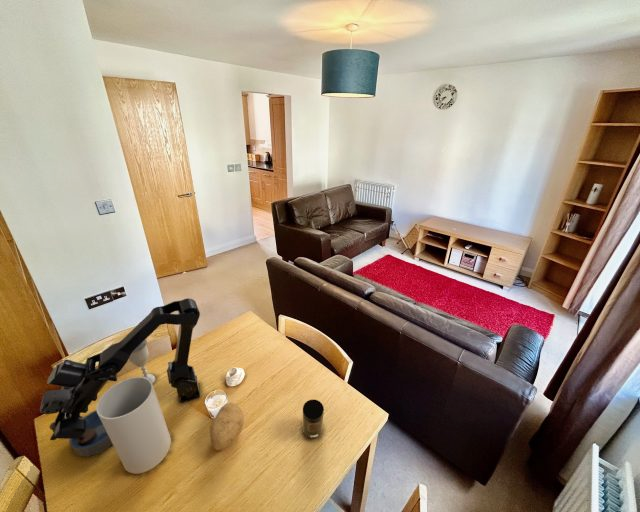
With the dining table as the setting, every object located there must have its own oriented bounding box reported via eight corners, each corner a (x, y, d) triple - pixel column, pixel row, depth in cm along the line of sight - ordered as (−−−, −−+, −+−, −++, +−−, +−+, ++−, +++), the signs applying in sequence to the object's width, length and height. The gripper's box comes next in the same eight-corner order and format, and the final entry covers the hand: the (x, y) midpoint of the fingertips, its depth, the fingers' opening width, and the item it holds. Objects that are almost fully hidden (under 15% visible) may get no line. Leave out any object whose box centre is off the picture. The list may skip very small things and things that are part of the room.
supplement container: (319, 417, 95) (320, 397, 90) (325, 436, 89) (326, 416, 84) (300, 422, 93) (300, 402, 88) (305, 442, 87) (305, 421, 82)
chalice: (148, 390, 102) (135, 355, 94) (132, 387, 103) (118, 351, 95) (162, 374, 108) (151, 340, 100) (147, 371, 109) (135, 337, 102)
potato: (204, 458, 82) (200, 441, 79) (220, 413, 95) (217, 398, 91) (236, 459, 82) (233, 443, 78) (248, 414, 95) (246, 399, 91)
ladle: (95, 428, 88) (82, 403, 83) (97, 438, 85) (84, 413, 80) (63, 445, 83) (47, 420, 78) (65, 457, 80) (48, 431, 75)
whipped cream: (238, 390, 104) (238, 382, 102) (221, 387, 104) (220, 379, 102) (246, 372, 111) (246, 364, 108) (230, 369, 111) (230, 361, 109)
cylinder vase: (137, 485, 75) (110, 428, 65) (115, 458, 81) (87, 402, 70) (179, 445, 85) (162, 390, 74) (157, 423, 91) (138, 369, 80)
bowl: (128, 408, 95) (125, 401, 94) (120, 445, 84) (117, 437, 83) (81, 422, 90) (77, 415, 89) (67, 464, 79) (61, 456, 78)
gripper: (59, 362, 82) (22, 407, 80) (52, 408, 68) (8, 464, 67) (99, 370, 89) (67, 411, 88) (101, 412, 76) (62, 462, 74)
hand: (52, 434), depth 79 cm, fingers open, 3 cm apart
